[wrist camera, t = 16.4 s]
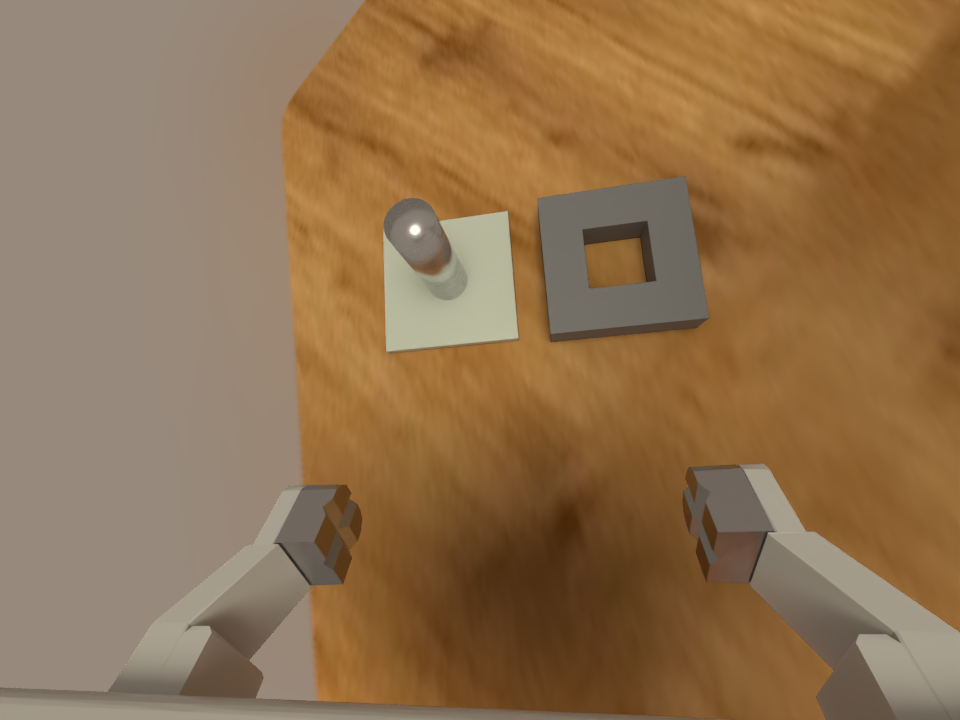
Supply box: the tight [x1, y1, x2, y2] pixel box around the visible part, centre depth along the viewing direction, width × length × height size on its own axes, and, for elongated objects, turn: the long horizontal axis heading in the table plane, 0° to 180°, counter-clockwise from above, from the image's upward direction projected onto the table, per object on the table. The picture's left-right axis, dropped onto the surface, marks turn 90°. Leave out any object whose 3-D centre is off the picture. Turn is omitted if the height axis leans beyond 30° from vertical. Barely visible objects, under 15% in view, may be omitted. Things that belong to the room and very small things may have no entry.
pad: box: [383, 211, 519, 353], centre depth 40 cm, size 12×12×1 cm
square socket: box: [537, 176, 709, 342], centre depth 37 cm, size 12×12×3 cm
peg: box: [384, 198, 468, 300], centre depth 34 cm, size 4×4×11 cm
